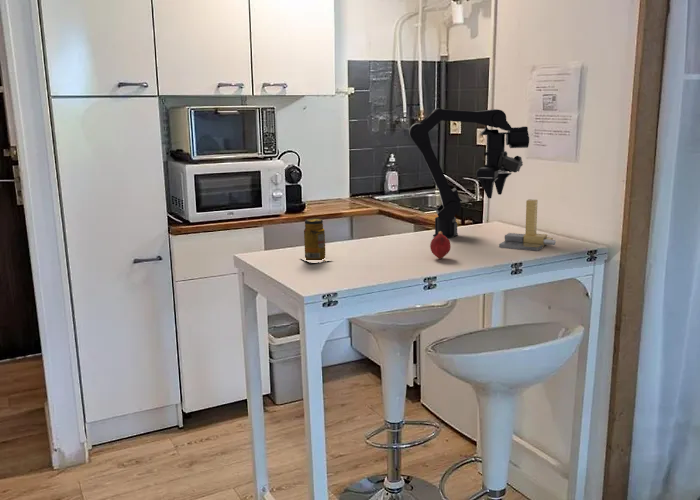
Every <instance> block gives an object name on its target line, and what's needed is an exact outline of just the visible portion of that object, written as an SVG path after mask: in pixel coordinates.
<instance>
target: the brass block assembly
mask: <svg viewBox="0 0 700 500" xmlns="http://www.w3.org/2000/svg"><path fill="white" fill-rule="evenodd" d="M525 203H526V205H525V208H526V209H525V233H524V234H525V235H524V241H523V243H529V244H540V245H543V246H542V249H543V248H544V247H545V246H547V245H546V244H544V239H549V240H554V237H548V234H547V233H546V234H545V233H537V230H538V229H537V227H538V226H537V223H538V199H527V200H526V202H525Z"/></svg>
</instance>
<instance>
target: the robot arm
mask: <svg viewBox="0 0 700 500" xmlns="http://www.w3.org/2000/svg"><path fill="white" fill-rule="evenodd" d="M441 121H442V122H457V123H458V122H459V123H471V124H472V123H473V124H479V125H483V126H485V127H484V129H483V130H482V131H481V132H480V135H482V136H486V151H485V152H484V154H483V155H484V156H486V164H484V166H483V167H478V169H477V170H476V171H475V178H477V180H478V181H479V183H480V185H481V186H482V188H483V190H484V193H485V195H486V197H487V199H492V197H493V191H494V185H495V189H496V192H497V194H498V195H500V196H501V195H502V194H503V191H504V187H505V183H506V180H507V178H508V177H509V176H511V175H512V173H517V172H520V169H521V168H522V167H523V165H524V164H523V163H524V162H523V160H522V156H521V155H520V156H519V155H515V156H514V157H510V156H508V152H507V151H506V149H505V145H506V146H508V147H509V148H510V149H526V148H527V149H528V148H529V145H530V136H529V135H530V134H529V131H528V129H529V127H528V126H519V127H518V126H517V127H512V126H511V124H510V123H509V122H508V121H507V115H506V112H505V111H503V110H502V109H497V108H496V109H495V108H493V109H486V110H485V109H484V110H477V111H473V110H460V109H459V110H457V109H445V108H444V109H442V108H439V107H438V108H434V109H433V110H432V112H430V114H429V115H427V116H426V117H425V118H424V119H422V120H421V121H420V122H415V123H413V124H412V125H411V126H410V127H409V131H408V133H409V136H410V138H411V139H412V141H413V142H414V144H415V145H416V146H417V148H418V149H419V151H420V152H421V154H422V156H423V159H424V162H425V163H426V165H427V167H428V170H429V172H430V174H431V176H432V178H433V181H434V183H435V185H436V187H437V189H438V194H439V197H440V201H441V204H440V205H439V206H438V207H437V208H435V213H436V215H437V216H436V217H434V224H435V225H434V234H432V237H433V238H434V237H435V236H437V235H438V233H439V232H440V231H441V232H442V234H443V235H444V236H445V237H447V238H448V239H450V238H454V237H455V236H458V235H459V233H458V221H457V217H456V215H457V214H458V213H459V212H460V211H461V209H462V203H461V202H462V201H463V200H462V199H461V197H460V196H459V195H460V194H459V192H458V189H457V188H456V187H453V188H451V186H450V185H449V183H448V181H447V179H446V176H445V174H444V171H443V169H442V167H441V165H440V163H439V161H438V159H437V156H436V154H435V152H434V150H433V148H432V144H431V139H430V135H429V132H431V130H432V129H433V128H434V127H435V126H437V124H439V122H441ZM486 126H487V127H486ZM488 127H492V128H496V129H489V128H488ZM497 128H498V129H497ZM499 129H500V130H501V131H503V132H499ZM505 131H506V132H505Z"/></svg>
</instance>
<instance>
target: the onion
mask: <svg viewBox="0 0 700 500" xmlns="http://www.w3.org/2000/svg"><path fill="white" fill-rule="evenodd" d="M429 247H430V248H429V249H430V251H431V254H432V255H434V256H435V257H436V258H437V259H439V260H440V259H441V260H442V259H443V258H444V257H445V256H447V255H448V254H449V253H450V251H451V247H452V246H451V242H450V239H449V238H447V237H445V236H444V235H443V234H442V232H441V231H440V232H439V233H438V235H437V236H435V237H434V236H433V238H432V239H431V241H430V245H429Z"/></svg>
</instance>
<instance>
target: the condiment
mask: <svg viewBox="0 0 700 500" xmlns="http://www.w3.org/2000/svg"><path fill="white" fill-rule="evenodd" d="M325 233H326V231H325V228H324V221H323V219H321V218H307V219H305V220H304V230H303V239H304V240H303V243H304V245H303V246H304V258H306V260H322V259H324V258H326V238H325V237H326V234H325Z"/></svg>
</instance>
